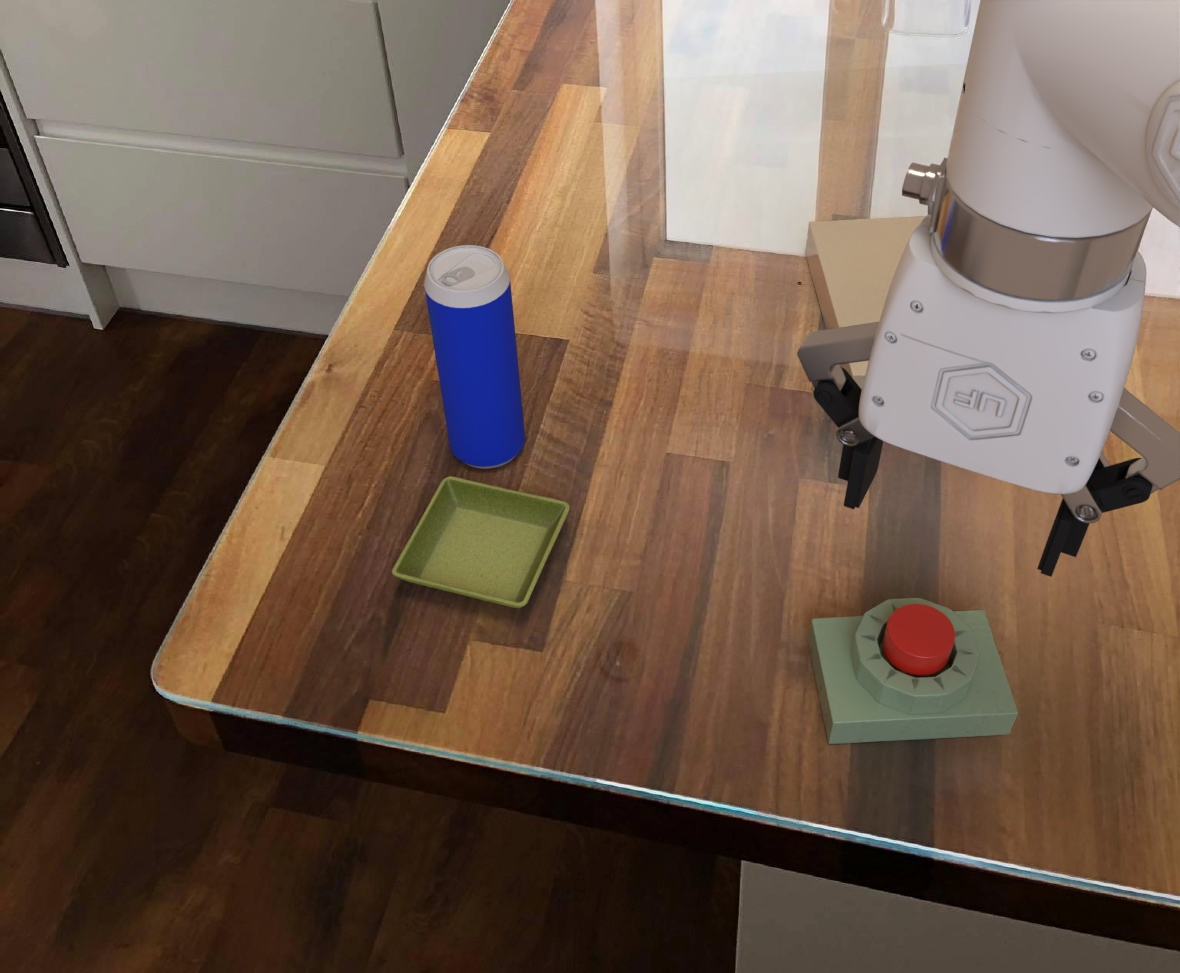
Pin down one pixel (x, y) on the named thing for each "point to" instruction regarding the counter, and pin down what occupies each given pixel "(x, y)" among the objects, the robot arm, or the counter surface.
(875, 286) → the panel
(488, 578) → the green square tray
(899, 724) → the green button base
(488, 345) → the beverage can
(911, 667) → the button
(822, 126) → the counter surface
